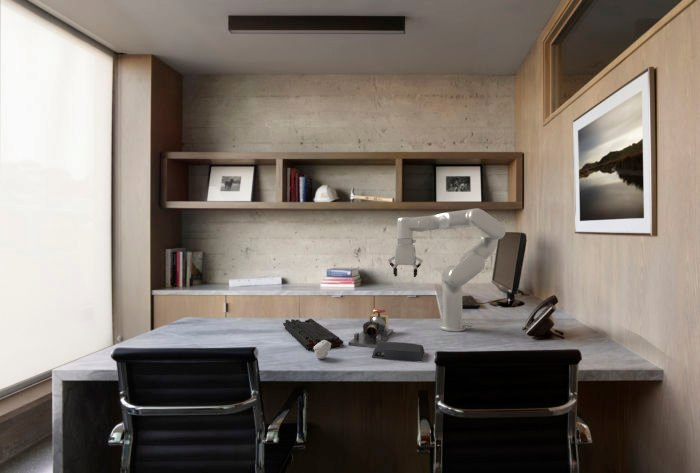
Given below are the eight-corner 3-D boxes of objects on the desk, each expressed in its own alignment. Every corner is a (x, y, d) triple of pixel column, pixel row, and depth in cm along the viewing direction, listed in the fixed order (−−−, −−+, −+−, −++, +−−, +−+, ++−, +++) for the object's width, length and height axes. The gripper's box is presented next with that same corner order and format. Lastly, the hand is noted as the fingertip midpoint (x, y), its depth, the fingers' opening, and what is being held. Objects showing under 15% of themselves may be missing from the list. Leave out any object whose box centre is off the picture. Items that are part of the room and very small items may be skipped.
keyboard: (343, 347, 169) (343, 336, 169) (306, 352, 162) (306, 340, 162) (313, 326, 208) (313, 316, 208) (282, 329, 201) (282, 319, 201)
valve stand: (393, 331, 193) (393, 308, 193) (377, 347, 166) (377, 321, 166) (368, 329, 198) (368, 307, 198) (348, 345, 171) (348, 319, 171)
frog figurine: (333, 359, 151) (333, 341, 151) (315, 362, 149) (315, 343, 149) (328, 355, 157) (328, 337, 157) (311, 357, 155) (311, 339, 155)
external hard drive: (378, 349, 166) (378, 340, 166) (425, 353, 160) (425, 343, 160) (371, 359, 153) (371, 349, 153) (422, 363, 148) (422, 352, 148)
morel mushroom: (378, 336, 170) (375, 322, 170) (362, 339, 170) (360, 325, 171) (379, 330, 187) (376, 319, 188) (365, 333, 188) (363, 321, 188)
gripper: (423, 242, 198) (424, 276, 198) (390, 241, 204) (390, 275, 204) (421, 242, 191) (421, 278, 191) (386, 242, 197) (386, 276, 197)
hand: (405, 276), depth 197 cm, fingers open, 9 cm apart
